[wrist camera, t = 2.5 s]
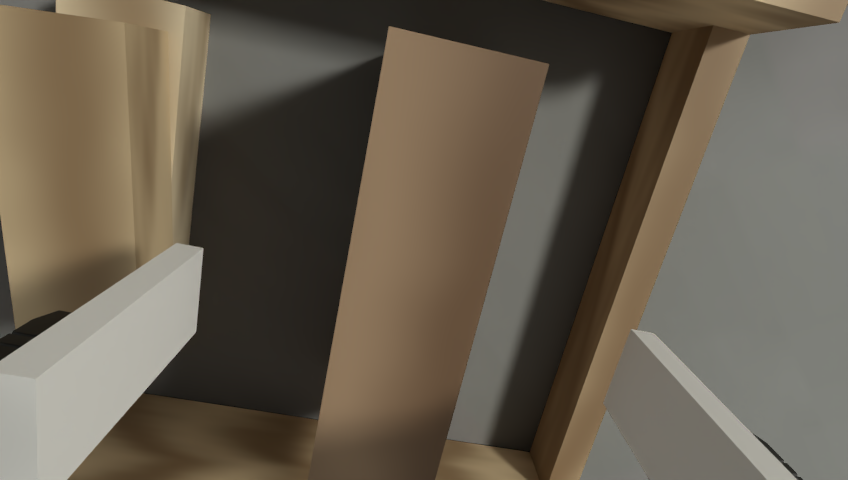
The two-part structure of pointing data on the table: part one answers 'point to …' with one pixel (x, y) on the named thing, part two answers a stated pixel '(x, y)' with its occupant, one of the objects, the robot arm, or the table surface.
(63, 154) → the slab short
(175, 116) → the slab long
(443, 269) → the brown wooden block
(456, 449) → the rack
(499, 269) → the table surface
